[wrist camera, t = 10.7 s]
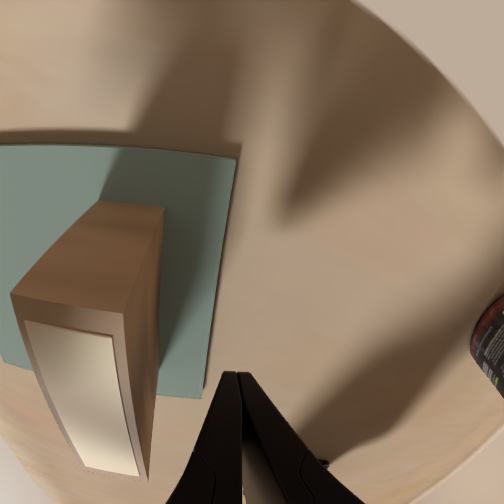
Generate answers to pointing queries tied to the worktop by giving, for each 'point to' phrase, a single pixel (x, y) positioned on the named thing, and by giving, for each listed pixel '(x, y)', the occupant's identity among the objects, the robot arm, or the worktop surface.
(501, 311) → the supplement bottle
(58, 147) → the mat
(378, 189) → the worktop surface
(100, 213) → the slab
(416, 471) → the worktop surface
